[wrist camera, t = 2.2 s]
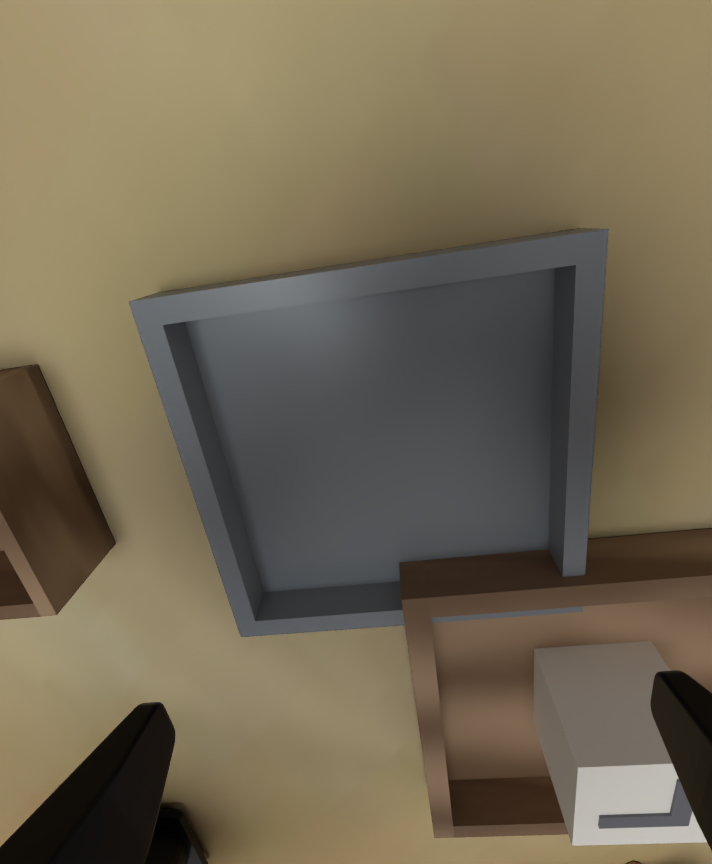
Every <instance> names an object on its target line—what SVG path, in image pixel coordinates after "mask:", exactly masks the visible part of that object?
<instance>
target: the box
mask: <svg viewBox="0 0 712 864" xmlns="http://www.w3.org/2000/svg"><path fill="white" fill-rule="evenodd" d="M115 544H116V543H115V541H114V539H113V537H112V534H111V532H110V530H109V527H108V525H107V523H106V520H105V518H104V516H103V514H102V511H101V509H100V507H99V504H98V502H97V500H96V498H95V495H94V493H93V491H92V488H91V486H90V484H89V481H88V479H87V477H86V475H85V472H84V470H83V468H82V465H81V463H80V461H79V459H78V456H77V454H76V452H75V449H74V447H73V445H72V442H71V440H70V438H69V436H68V433H67V431H66V429H65V426H64V424H63V422H62V420H61V417H60V415H59V413H58V410H57V408H56V406H55V403H54V401H53V399H52V397H51V394H50V392H49V390H48V387H47V385H46V383H45V381H44V378H43V376H42V374H41V371H40V369H39V367H38V365H31V366H24V367H17V368H10V369H2V370H0V620H4V619H16V618H29V617H41V616H53V615H57V614H58V613H59V612H60V611H61V609H62V608H63V607H64V606H65V604H66V603H67V602H68V601H69V600H70V598H71V597H72V596H73V595H74V594H75V592H76V591H77V590H78V589H79V587H80V586H81V585H82V584H83V583H84V581H85V580H86V579H87V578H88V577H89V575H90V574H91V573H92V572H93V570H94V569H95V568H96V567H97V566H98V564H99V563H100V562H101V561H102V560H103V558H104V557H105V556H106V555H107V553H108V552H109V551H110V550H111V549H112V547H113V546H114V545H115Z"/></svg>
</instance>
